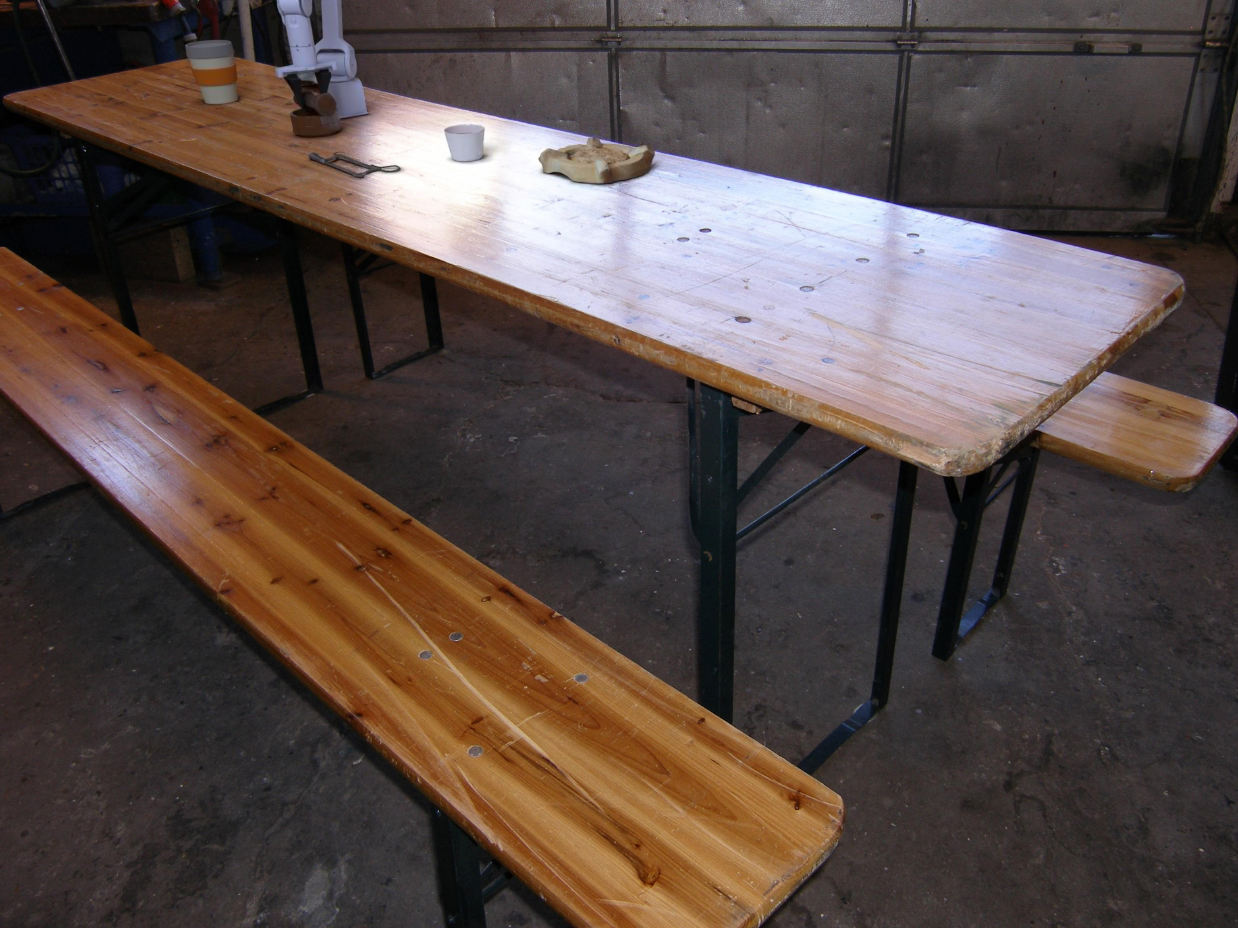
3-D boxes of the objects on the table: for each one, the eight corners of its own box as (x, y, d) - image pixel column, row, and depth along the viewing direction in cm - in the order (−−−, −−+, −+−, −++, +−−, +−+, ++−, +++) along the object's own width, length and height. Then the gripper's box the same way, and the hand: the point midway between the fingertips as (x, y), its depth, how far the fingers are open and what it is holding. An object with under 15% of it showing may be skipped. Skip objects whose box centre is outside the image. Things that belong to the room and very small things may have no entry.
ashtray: (571, 192, 195) (570, 167, 192) (526, 164, 213) (524, 141, 210) (673, 174, 204) (673, 150, 201) (621, 149, 222) (620, 127, 219)
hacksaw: (306, 159, 220) (305, 153, 219) (346, 150, 226) (345, 144, 225) (363, 180, 205) (361, 173, 204) (404, 170, 211) (403, 163, 210)
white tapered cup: (471, 150, 224) (468, 122, 220) (495, 157, 218) (492, 128, 215) (439, 158, 218) (435, 129, 215) (463, 165, 213) (460, 136, 210)
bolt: (304, 113, 245) (332, 121, 235) (286, 106, 241) (313, 113, 231) (310, 90, 244) (339, 97, 234) (292, 82, 240) (320, 89, 230)
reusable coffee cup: (253, 98, 276) (241, 42, 268) (217, 107, 267) (204, 49, 259) (225, 94, 282) (212, 38, 274) (188, 102, 273) (174, 45, 265)
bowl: (330, 124, 248) (326, 104, 245) (349, 132, 240) (345, 112, 237) (286, 131, 242) (282, 111, 240) (304, 140, 234) (300, 119, 232)
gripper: (278, 51, 224) (290, 112, 231) (337, 44, 231) (347, 103, 239) (267, 47, 229) (279, 107, 236) (325, 40, 236) (335, 98, 243)
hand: (312, 104), depth 238 cm, fingers closed on bolt, 5 cm apart
